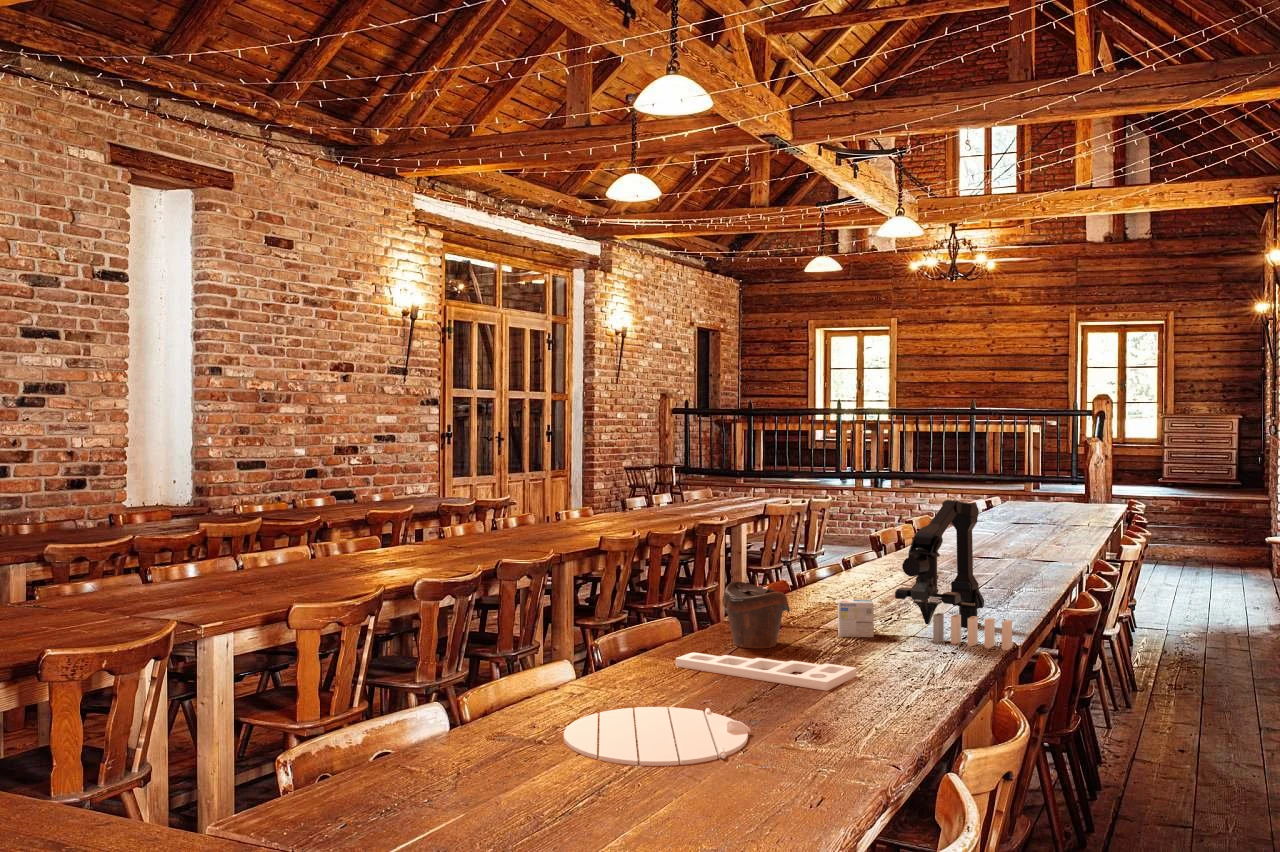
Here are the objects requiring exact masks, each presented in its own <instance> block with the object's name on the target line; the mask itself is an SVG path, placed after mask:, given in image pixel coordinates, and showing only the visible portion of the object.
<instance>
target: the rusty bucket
mask: <svg viewBox="0 0 1280 852" xmlns="http://www.w3.org/2000/svg"><path fill="white" fill-rule="evenodd" d="M721 602H722V606H723V607H726V611H727V612H726V613H727V617H728V618H727V619H728V622H729V626H730V632H731V637H732V641H733V642H732V643H733V645H734V646H736V647H740V648H741V649H742V648H743V649H757V650H758V649H760V650H761V649H770V648H771V649H772V648H774V647H775V646H776V645H777V644H778V637H779V633H780V628H781V622H782V617H783V615H784V614H783V612H784V611H786V612H787V613H789V614H790V612H791V610H790V605H789V601H788V597H787V595H786V594H785V593H784V592H783V591H775V589H773V588H772V587H769V588H768V589H767V588H765V587H761V586H758V585H754V584H751V583H747V582H744V581H733V582H730V583H729V584H728V585H727V586H726V588H725V589H724V593H723V597H722V599H721Z"/></svg>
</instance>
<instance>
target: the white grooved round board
mask: <svg viewBox="0 0 1280 852" xmlns="http://www.w3.org/2000/svg"><path fill="white" fill-rule="evenodd" d="M598 727H599V729H598ZM598 731H599V733H598ZM751 732H752V730H751V728H750V727H749V726H747V724H745V723H743V722H742V721H739V720H735V719H733V718H731V717H728V716H726V715H721V714H718V713H715V712H712V711H711V709H710V708H709V707H706V708H705V711H703V710H701V709H694V708H687V707H685V708H684V707H674V706H669V707H667V706H637V707H634V708H633V707H627V708H626V707H625V708H618V709H617V708H616V709H612V710H611V709H610V710H604V711H600V712H596V713H592V714H589V715H585V716H583V717H580V718H578V719H575V720H574V721H572V722H571V723H569V725H567V726H566V728H564V731H563V741H564V744H565V745H566V746H567V747H568V748H569V749H571V750H572V751H574V752H575V753H577V754H580V755H583V756H585V757H588V758H591V759H595V760H599V761H602V762H608V763H614V764H621V765H630V766H638V765H639V766H642V767H643V766H646V767H647V766H648V767H653V766H654V767H657V766H659V767H661V766H662V767H663V766H664V767H670V766H679V762H680V765H682V766H683V765H692V764H693V765H694V764H699V763H705V762H709V761H714V760H717V759H718V758H719V759H726V757H727V756H730V755H733V754H734V753H736V752H738V751H739V750H741V749H742V748H744V747H745V746H746V745H747V744H748V743H747V742H748V740H749V733H751ZM598 734H599V737H598ZM598 738H599V739H598ZM598 741H599V743H598ZM598 744H599V745H598ZM598 746H599V747H598ZM598 748H599V749H598Z"/></svg>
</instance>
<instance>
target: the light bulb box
mask: <svg viewBox="0 0 1280 852" xmlns="http://www.w3.org/2000/svg"><path fill="white" fill-rule="evenodd" d="M874 615H875V614H874V601H873V600H872V599H871V598H870V599H869V598H868V599H866V598H865V599H857V598H856V599H848V598H847V599H845V598H843V599H841V598H837V630H838V632H837V633H838V634H837V635H838V636H839V638H842V637H843V638H845V637H846V638H874V636H875V631H874V630H875V629H874V627H875V625H874V624H875V623H874V619H875V618H874Z"/></svg>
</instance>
